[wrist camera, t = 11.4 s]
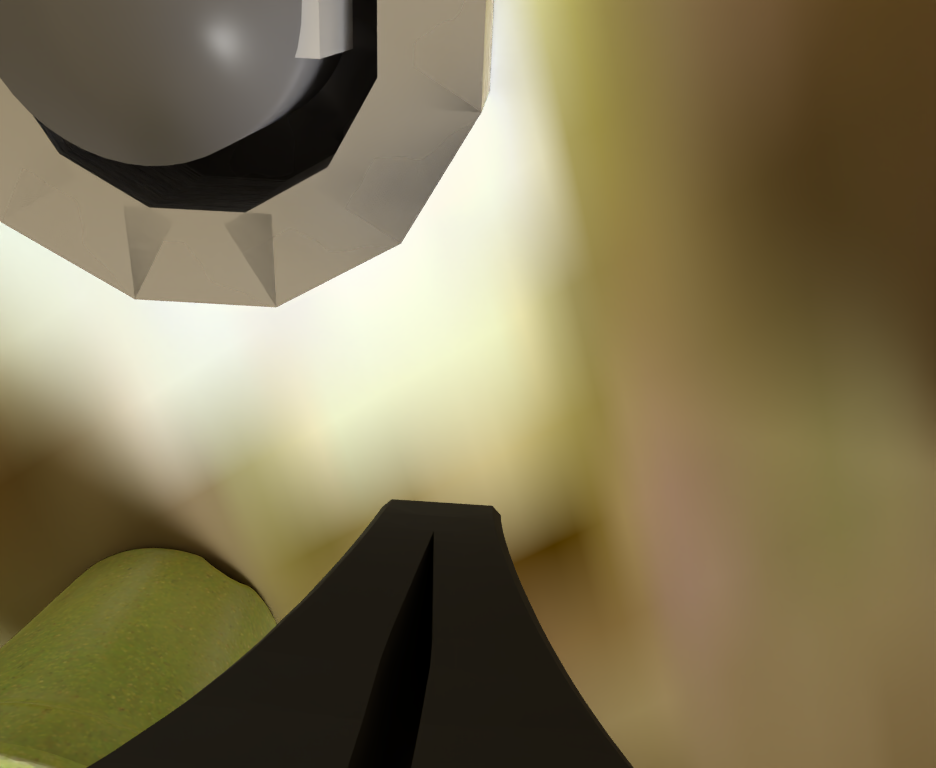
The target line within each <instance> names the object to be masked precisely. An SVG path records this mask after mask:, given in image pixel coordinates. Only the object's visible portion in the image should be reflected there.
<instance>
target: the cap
mask: <svg viewBox="0 0 936 768" xmlns="http://www.w3.org/2000/svg"><path fill="white" fill-rule="evenodd" d="M350 49H353V11H352V0H0V78H1V80H2V81H3V82H4V83H5V85H6V86H7V87H8V89H9V90H10V91H11V93H12V94H13V95H14V96H15V97H16V98H17V99H18V100H19V102H20V103H21V104H22V105H23V106H24V107H25V108H26V109H27V110H28V111H29V112H30V113H31V114H32V115H33V116H35V117H36V118H37V119H38V120H39V121H40V122H42V123H43V124H44V125H45V126H46V127H48V128H49V129H50V130H52V131H53V132H55V133H56V134H58V135H59V136H61V137H62V138H64V139H65V140H67V141H69V142H70V143H72V144H74V145H76V146H78V147H80V148H82V149H84V150H86V151H88V152H91V153H93V154H96V155H99V156H101V157H104V158H107V159H111V160H115V161H118V162H122V163H127V164H135V165H143V166H167V165H174V164H180V163H187V162H190V161H193V160H196V159H200V158H203V157H206V156H208V155H210V154H212V153H214V152H216V151H219V150H221V149H223V148H225V147H227V146H229V145H231V144H233V143H235V142H237V141H239V140H241V139H242V138H244V137H246V136H248V135H250V134H252V133H254V132H256V131H258V130H260V129H262V128H264V127H266V126H268V125H270V124H272V123H274V122H276V121H278V120H280V119H282V118H284V117H286V116H288V115H290V114H292V113H293V112H295V111H296V110H298V109H300V108H301V107H303V106H304V105H306V104H307V103H308V102H309V101H310V100H311V99H312V98H313V97H314V96H316V95H317V94H318V92H319V91H320V90H321V89H322V88H323V87H324V85H325V84H326V83H327V82H328V80H329V79H330V77H331V75H332V74H333V72H334V71H335V69H336V67H337V65H338V63H339V61H340V59H341V56H342V54H343V52H344V51H347V50H350Z"/></svg>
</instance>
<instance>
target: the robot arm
mask: <svg viewBox="0 0 936 768" xmlns="http://www.w3.org/2000/svg"><path fill="white" fill-rule="evenodd" d="M87 768H633V767H632V765H631V764H630V763H629V761H628V760H627V759H626V757H625V756H624V755H623V753H622V752H621V751H620V749H619V748H618V747H617V746H616V744H615V743H614V742H613V740H612V739H611V738H610V736H609V735H608V734H607V732H606V731H605V729H604V728H603V727H602V725H601V724H600V722H599V721H598V719H597V718H596V717H595V715H594V714H593V712H592V711H591V709H590V708H589V706H588V705H587V704H586V702H585V701H584V699H583V697H582V696H581V694H580V693H579V691H578V690H577V688H576V687H575V685H574V683H573V682H572V680H571V678H570V677H569V675H568V674H567V672H566V670H565V669H564V667H563V665H562V663H561V662H560V660H559V658H558V656H557V655H556V653H555V651H554V649H553V648H552V646H551V644H550V642H549V641H548V639H547V637H546V635H545V633H544V631H543V629H542V627H541V625H540V623H539V621H538V619H537V617H536V615H535V613H534V611H533V609H532V606H531V604H530V602H529V600H528V598H527V596H526V594H525V591H524V589H523V587H522V585H521V583H520V580H519V578H518V575H517V573H516V570H515V568H514V565H513V562H512V559H511V557H510V554H509V551H508V548H507V545H506V541H505V538H504V534H503V529H502V524H501V515H500V514H499V513H498V512H497V511H496V510H495V508H494V507H493V506H485V505H470V504H455V503H439V502H424V501H409V500H393V499H392V500H390V501H389V502H388V503H387V504H385V505H384V506H383V507H382V508H381V510H380V511H379V512H378V514H377V515H376V516H375V518H374V519H373V520H372V522H371V523H370V524H369V525H368V527H367V528H366V529H365V530H364V532H363V533H362V534H361V535H360V537H359V538H358V539H357V540H356V542H355V543H354V544H353V545H352V546H351V547H350V549H349V550H348V551H347V552H346V553H345V554H344V556H343V557H342V558H341V559H340V560H339V561H338V562H337V564H336V565H335V566H334V567H333V568H332V569H331V570H330V571H329V572H328V573H327V574H326V576H325V577H324V578H323V579H322V580H321V581H320V582H319V583H318V584H317V585H316V586H315V588H314V589H313V590H312V591H311V592H310V593H309V594H308V595H307V596H306V597H305V598H304V599H303V600H302V601H301V602H300V603H299V604H298V605H297V606H296V607H295V608H294V609H293V610H292V611H291V612H290V613H289V614H288V615H287V616H286V617H285V618H283V619H282V620H281V621H280V622H279V623H278V624H277V625H276V626H275V627H274V628H273V629H272V630H271V631H270V632H269V633H268V634H267V635H266V636H265V637H264V638H263V639H261V640H260V641H259V642H258V643H257V644H256V645H255V646H254V647H253V648H251V649H250V650H249V651H248V652H247V653H246V654H245V655H243V656H242V657H241V658H240V659H239V660H238V661H236V662H235V663H234V664H233V665H232V666H230V667H229V668H228V669H227V670H226V671H224V672H223V673H222V674H221V675H220V676H218V677H217V678H216V679H214V680H213V681H212V682H211V683H209V684H208V685H207V686H206V687H204V688H203V689H202V690H201V691H199V692H198V693H197V694H195V695H194V696H193V697H191V698H190V699H189V700H188V701H186V702H185V703H183V704H182V705H181V706H179V707H178V708H176V709H175V710H174V711H172V712H171V713H169V714H168V715H166V716H165V717H163V718H162V719H160V720H159V721H158V722H156V723H155V724H153V725H152V726H150V727H149V728H147V729H146V730H144V731H143V732H141V733H140V734H138V735H137V736H135V737H134V738H132V739H131V740H129V741H128V742H126V743H125V744H123V745H122V746H120V747H119V748H117V749H116V750H114V751H113V752H111V753H110V754H108V755H106V756H105V757H103V758H102V759H100V760H98V761H97V762H95V763H93V764H92V765H90V766H88V767H87Z"/></svg>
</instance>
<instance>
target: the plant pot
mask: <svg viewBox="0 0 936 768" xmlns="http://www.w3.org/2000/svg"><path fill="white" fill-rule="evenodd" d="M276 625H277V624H276V622H275V620H274V618H273V616H272V614H271V612H270V611H269V609H268V607H267V606H266V604H265V603H264V601H263V600H262V599H261V598H260V596H259V595H258V594H257V593H256V592H255V591H254V590H253V589H252V588H250V587H249V586H247V585H244V584H241V583H239V582H237V581H235V580H233V579H231V578H229V577H227V576H226V575H225V574H223V573H222V572H220V571H219V570H217V569H216V568H214V567H213V566H212V565H210V564H209V563H208V562H207V561H206V560H205V559H204V558H202V557H200V556H198V555H195V554H192V553H188V552H184V551H179V550H172V549H164V548H143V549H135V550H130V551H125V552H121V553H118V554H116V555H113V556H110V557H108V558H106V559H104V560H102V561H99V562H97V563H96V564H95V565H93V566H92V567H90V568H89V569H88V570H87V571H85V572H84V573H83V574H82V575H80V576H79V577H78V578H77V579H76V580H75V581H74V582H73V583H72V584H71V585H69V586H68V587H67V588H66V589H65V590H64V591H63V592H62V593H61V594H59V595H58V596H57V597H56V598H55V599H54V600H53V601H52V602H51V603H50V604H49V605H48V606H47V607H46V608H44V609H43V610H42V611H41V612H40V613H39V614H38V615H37V616H36V617H35V618H34V619H33V620H32V621H30V622H29V623H28V624H27V625H26V626H25V627H24V628H23V629H22V630H20V631H19V632H18V633H17V634H16V635H15V636H14V637H13V638H12V639H10V640H9V641H8V642H7V643H6V644H5V645H4V646H3V647H2V648H0V768H87V767H88V766H90V765H92V764H93V763H95V762H97V761H98V760H100V759H102V758H103V757H105V756H106V755H108V754H110V753H111V752H113V751H114V750H116V749H117V748H119V747H120V746H122V745H123V744H125V743H126V742H128V741H129V740H131V739H132V738H134V737H135V736H137V735H138V734H140V733H141V732H143V731H144V730H146V729H147V728H149V727H150V726H152V725H153V724H155V723H156V722H158V721H159V720H160V719H162V718H163V717H165V716H166V715H168V714H169V713H171V712H172V711H174V710H175V709H176V708H178V707H179V706H181V705H182V704H183V703H185V702H186V701H188V700H189V699H190V698H191V697H193V696H194V695H195V694H197V693H198V692H199V691H201V690H202V689H203V688H204V687H206V686H207V685H208V684H209V683H211V682H212V681H213V680H214V679H216V678H217V677H218V676H220V675H221V674H222V673H223V672H224V671H226V670H227V669H228V668H229V667H230V666H232V665H233V664H234V663H235V662H236V661H238V660H239V659H240V658H241V657H242V656H243V655H245V654H246V653H247V652H248V651H249V650H250V649H251V648H253V647H254V646H255V645H256V644H257V643H258V642H259V641H260V640H261V639H263V638H264V637H265V636H266V635H267V634H268V633H269V632H270V631H271V630H272V629H273V628H274V627H275V626H276Z"/></svg>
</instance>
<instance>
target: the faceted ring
mask: <svg viewBox="0 0 936 768" xmlns="http://www.w3.org/2000/svg"><path fill="white" fill-rule="evenodd" d="M493 5H494V0H352V11H353V49H350V50H347V51H344V52H343V54H342V56H341V59H340V61H339V63H338V65H337V67H336V69H335V71H334V72H333V74H332V75H331V77H330V79H329V80H328V82H327V83H326V84H325V85H324V87H323V88H322V89H321V90H320V91H319V92H318V94H317V95H316V96H314V97H313V98H312V99H311V100H310V101H309V102H308V103H307V104H306V105H304V106H303V107H301V108H300V109H298V110H296V111H295V112H293V113H292V114H290V115H288V116H286V117H284V118H282V119H280V120H278V121H276V122H274V123H272V124H270V125H268V126H266V127H264V128H262V129H260V130H258V131H256V132H254V133H252V134H250V135H248V136H246V137H244V138H242V139H241V140H239V141H237V142H235V143H233V144H231V145H229V146H227V147H225V148H223V149H221V150H219V151H216V152H214V153H212V154H210V155H208V156H206V157H203V158H200V159H196V160H193V161H190V162H187V163H180V164H174V165H167V166H143V165H135V164H127V163H122V162H118V161H115V160H111V159H107V158H104V157H101V156H99V155H96V154H93V153H91V152H88V151H86V150H84V149H82V148H80V147H78V146H76V145H74V144H72V143H70V142H69V141H67V140H65V139H64V138H62V137H61V136H59V135H58V134H56V133H55V132H53V131H52V130H50V129H49V128H48V127H46V126H45V125H44V124H43V123H42V122H40V121H39V120H38V119H37V118H36V117H35V116H33V115H32V114H31V113H30V112H29V111H28V110H27V109H26V108H25V107H24V106H23V105H22V104H21V103H20V102H19V100H18V99H17V98H16V97H15V96H14V95H13V94H12V93H11V91H10V90H9V89H8V87H7V86H6V85H5V83H4V82H3V81H2V80H1V78H0V221H1V222H2V223H4V224H5V225H7V226H9V227H11V228H12V229H14V230H16V231H18V232H19V233H21V234H23V235H25V236H26V237H28V238H30V239H31V240H33V241H35V242H37V243H38V244H40V245H42V246H44V247H45V248H47V249H49V250H51V251H52V252H54V253H56V254H57V255H59V256H61V257H63V258H64V259H66V260H68V261H70V262H71V263H73V264H75V265H77V266H78V267H80V268H82V269H84V270H85V271H87V272H89V273H90V274H92V275H94V276H96V277H97V278H99V279H101V280H103V281H104V282H106V283H108V284H110V285H111V286H113V287H115V288H116V289H118V290H120V291H122V292H123V293H125V294H127V295H129V296H130V297H132V298H134V299H141V300H159V301H176V302H194V303H211V304H229V305H246V306H264V307H278V306H280V305H282V304H284V303H286V302H288V301H289V300H291V299H293V298H295V297H297V296H299V295H301V294H303V293H305V292H307V291H309V290H311V289H313V288H315V287H317V286H319V285H321V284H323V283H325V282H327V281H329V280H330V279H332V278H334V277H336V276H338V275H340V274H342V273H344V272H346V271H348V270H350V269H352V268H354V267H356V266H358V265H360V264H362V263H364V262H366V261H368V260H370V259H372V258H373V257H375V256H377V255H379V254H381V253H383V252H385V251H387V250H389V249H391V248H393V247H395V246H397V245H399V244H401V242H402V241H403V239H404V238H405V236H406V234H407V233H408V231H409V229H410V228H411V226H412V224H413V223H414V221H415V220H416V218H417V216H418V215H419V213H420V211H421V210H422V208H423V207H424V205H425V203H426V202H427V200H428V198H429V197H430V195H431V194H432V192H433V190H434V189H435V187H436V185H437V184H438V182H439V180H440V179H441V177H442V176H443V174H444V172H445V171H446V169H447V167H448V166H449V164H450V163H451V161H452V159H453V158H454V156H455V154H456V153H457V151H458V149H459V148H460V146H461V145H462V143H463V141H464V140H465V138H466V136H467V135H468V133H469V132H470V130H471V128H472V127H473V125H474V123H475V122H476V120H477V119H478V117H479V115H480V114H481V112H482V109H483V107H484V104H485V102H486V99H487V96H488V94H489V91H490V70H491V48H492V27H493Z"/></svg>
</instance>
